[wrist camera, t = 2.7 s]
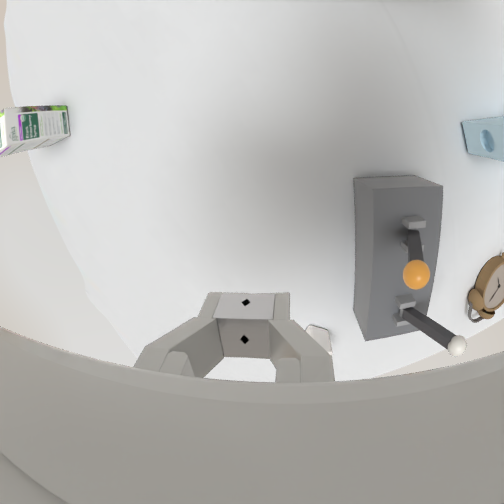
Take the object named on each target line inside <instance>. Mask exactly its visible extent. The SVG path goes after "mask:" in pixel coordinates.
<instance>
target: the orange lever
mask: <svg viewBox="0 0 504 504" xmlns="http://www.w3.org/2000/svg"><path fill="white" fill-rule="evenodd" d="M407 244H408V264H407V265H406V266H405V268H404V270H403V280H404V282H405V284H406V285H407V286H408V287H409V288H411V289H415V290H417V289H421V288H423V287H424V286H426V284H427V283H428V281H429V278H430V270H429V267H428V266H427V264H426V263H425V262H424V258H423V251H422V245H421V239H420V233H419V231H418V230H417V228H415V229H409V230H408V238H407Z"/></svg>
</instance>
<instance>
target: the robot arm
mask: <svg viewBox="0 0 504 504" xmlns="http://www.w3.org/2000/svg"><path fill="white" fill-rule="evenodd" d="M224 357H248V358H265V359H270V360H271V362H272V363H273V365H274V366H275V368H276V379H275V382H248V381H232V380H219V379H208V378H203V377H204V376H206V375H207V374H208V373H209V372H210V371H211V370H212V369H213V368H214V367H215V366H216V365H217V364H218V363H219V362H220V361H221V360H222V359H223V358H224ZM0 504H504V351H503V352H500V353H497V354H493V355H490V356H487V357H483V358H479V359H476V360H472V361H468V362H464V363H460V364H456V365H452V366H447V367H443V368H437V369H432V370H427V371H422V372H416V373H410V374H404V375H396V376H390V377H381V378H372V379H362V380H350V381H335V378H334V370H333V362H332V356H331V355H330V354H329V353H328V352H327V351H326V350H325V349H324V348H323V347H321V346H320V345H319V344H318V343H317V342H316V341H315V340H314V339H313V338H312V337H311V336H310V335H309V334H308V333H307V332H306V331H305V330H304V329H303V328H302V327H301V326H299V325H298V324H297V323H296V322H295V321H294V320H290V293H289V292H287V293H276V294H275V293H258V294H249V293H226V292H223V293H222V292H210V293H208V295H207V297H206V299H205V301H204V304H203V306H202V308H201V310H200V313H199V315H198V317H193V318H192V319H190V320H188V321H187V322H185V323H183V324H182V325H180V326H179V327H177V328H175V329H174V330H172V331H170V332H169V333H167V334H165V335H164V336H162V337H160V338H159V339H157V340H155V341H153V342H152V343H150V344H148V345H147V346H145V347H144V349H143V351H142V353H141V354H140V356H139V358H138V360H137V361H136V363H135V365H134V367H129V366H124V365H120V364H115V363H111V362H106V361H102V360H98V359H94V358H91V357H87V356H83V355H80V354H76V353H72V352H69V351H65V350H63V349H59V348H56V347H53V346H50V345H47V344H44V343H41V342H38V341H36V340H33V339H30V338H27V337H25V336H22V335H20V334H17V333H14V332H12V331H10V330H7V329H5V328H3V327H1V326H0Z"/></svg>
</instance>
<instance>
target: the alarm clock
mask: <svg viewBox="0 0 504 504" xmlns="http://www.w3.org/2000/svg"><path fill="white" fill-rule="evenodd" d="M468 299H469V306H470V307H469V310H468V317H469V319H470V320H471V321H472V322H474V323H476V322H479V321H480V320H482V319H490V318H492V317H493V316H494V314H495V311H494V310H496V309H498V308H499V307H500V306H501V305H502V304H503V303H504V253H502V256H495V257H492V258H491V259H490V260H489V261H488V262H487V263H486V264H485V265H484V267H483V268H482V270H481V272H480V274H479V276H478V278H477V281H476V284H475V289H472V290H471V291H470V293H469V296H468ZM472 308H473V309H474V310H477V311H478V314H479V315H480V316H481V317H478V318H477V319H472V318H471V312H472Z"/></svg>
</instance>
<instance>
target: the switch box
mask: <svg viewBox="0 0 504 504" xmlns="http://www.w3.org/2000/svg"><path fill="white" fill-rule="evenodd" d="M353 181H354V199H355V289H354V308H353V311H354V313H355V316H356V318H357V321H358V324H359V326H360V329H361V331H362V334H363V337H364V339H365V341H369V340H375V339H380V338H386V337H391V336H396V335H401V334H405V333H410V332H414V331H419V329H418V328H416V327H415V326H413V325H412V324H410V323H409V322H407V321H406V320H404V319H403V318H402V317H400V316H399V314H400V309H403V308H409V307H413V308H414V309H416V310H418V311H419V312H421V313H422V314H424V315H427V311H428V307H429V302H430V297H431V292H432V287H433V282H434V276H435V270H436V264H437V257H438V249H439V241H440V231H441V219H442V201H443V186H441V185H439V184H436V183H434V182H431V181H428V180H426V179H423V178H420V177H417V176H415V175H412V176H383V177H363V178H353ZM415 228H417V230H418V231H419V233H420V239H421V245H422V251H423V258H424V262H425V263H426V264H427V266H428V267H429V270H430V278H429V281H428V283H427V284H426V286H424V287H423V288H421V289H417V290H415V289H411V288H409V287H408V286H407V285H406V284H405V282H404V280H403V270H404V268H405V266H406V265H407V264H408V244H407V238H408V230H409V229H415Z"/></svg>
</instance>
